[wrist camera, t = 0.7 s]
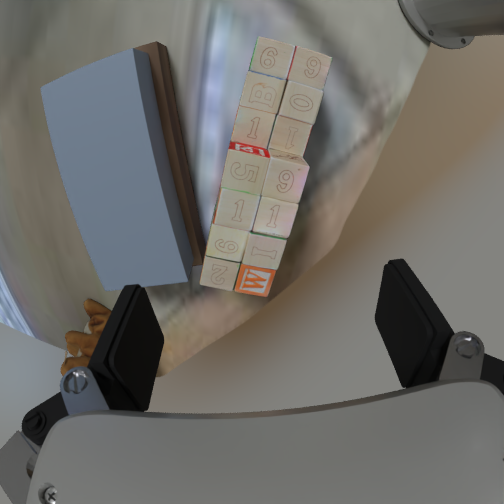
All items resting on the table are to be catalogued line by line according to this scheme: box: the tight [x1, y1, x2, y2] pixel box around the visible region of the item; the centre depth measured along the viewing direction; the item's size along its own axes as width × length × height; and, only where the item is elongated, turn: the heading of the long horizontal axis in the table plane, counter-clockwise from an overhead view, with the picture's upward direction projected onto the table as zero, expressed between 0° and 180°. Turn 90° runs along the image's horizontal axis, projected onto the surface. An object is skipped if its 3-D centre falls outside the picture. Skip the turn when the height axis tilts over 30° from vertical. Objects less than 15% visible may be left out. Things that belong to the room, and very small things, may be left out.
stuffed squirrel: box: [61, 299, 112, 376], centre depth 40 cm, size 10×14×13 cm
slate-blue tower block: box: [41, 48, 194, 291], centre depth 27 cm, size 10×23×4 cm, turn 8°
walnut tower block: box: [134, 41, 206, 266], centre depth 31 cm, size 12×25×4 cm, turn 8°
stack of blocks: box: [200, 37, 332, 297], centre depth 27 cm, size 21×6×12 cm, turn 166°
